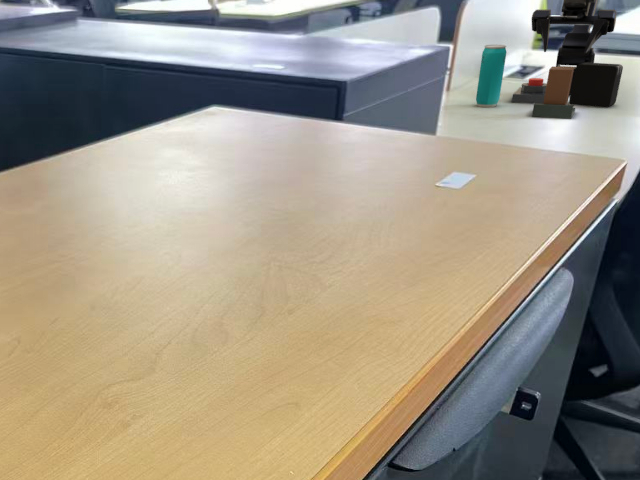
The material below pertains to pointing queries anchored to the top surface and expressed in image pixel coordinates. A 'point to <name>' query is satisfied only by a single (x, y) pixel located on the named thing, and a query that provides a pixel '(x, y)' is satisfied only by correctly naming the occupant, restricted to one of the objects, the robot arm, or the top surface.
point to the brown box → (558, 85)
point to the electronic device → (596, 84)
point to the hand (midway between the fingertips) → (564, 51)
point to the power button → (535, 81)
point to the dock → (553, 111)
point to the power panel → (530, 94)
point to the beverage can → (491, 75)
